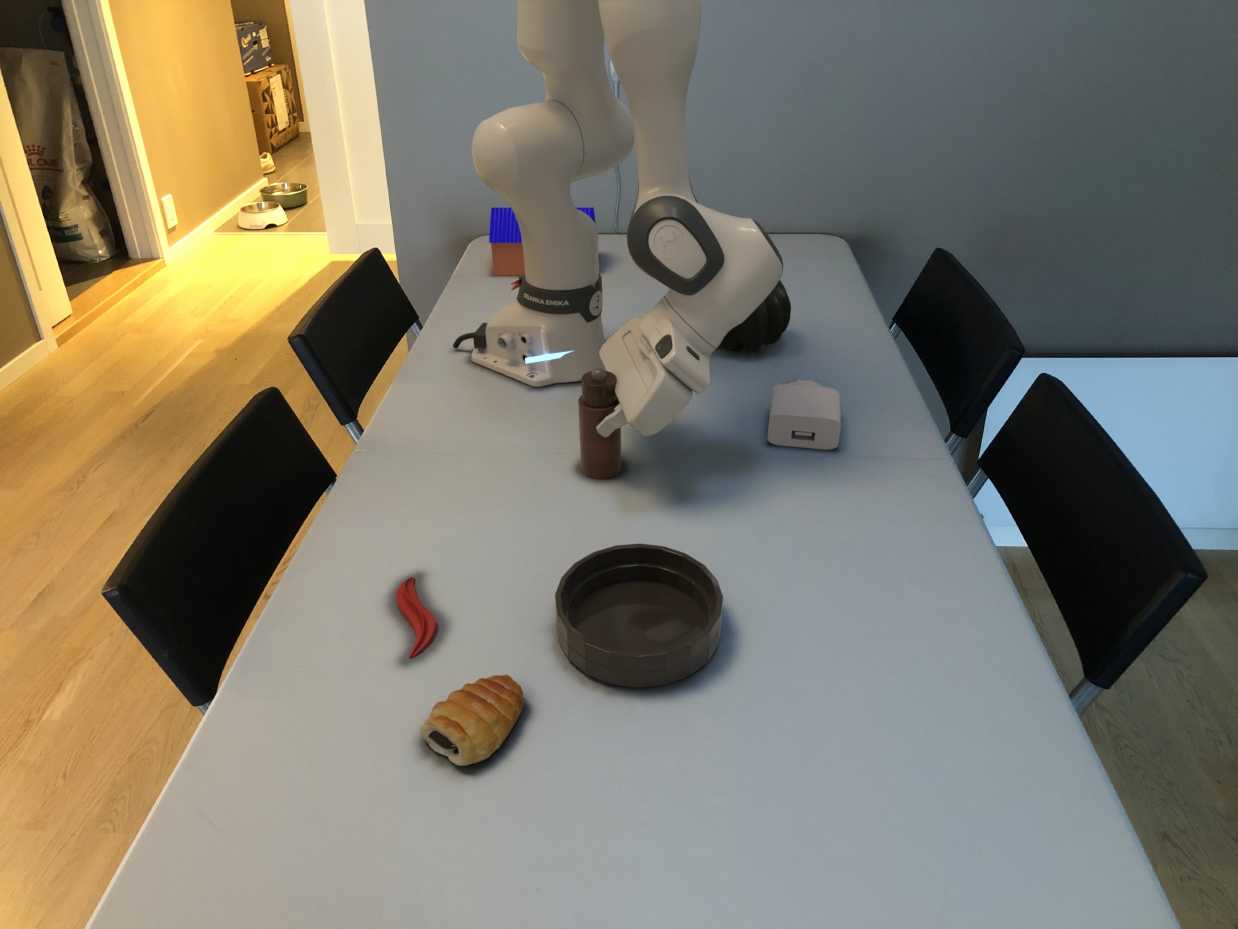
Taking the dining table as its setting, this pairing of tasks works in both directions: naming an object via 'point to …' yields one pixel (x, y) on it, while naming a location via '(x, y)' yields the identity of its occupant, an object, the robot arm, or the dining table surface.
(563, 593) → the pan
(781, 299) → the squash
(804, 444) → the charger
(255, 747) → the dining table surface
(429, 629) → the cayenne pepper
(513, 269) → the house
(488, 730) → the pastry
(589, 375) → the pepper mill
